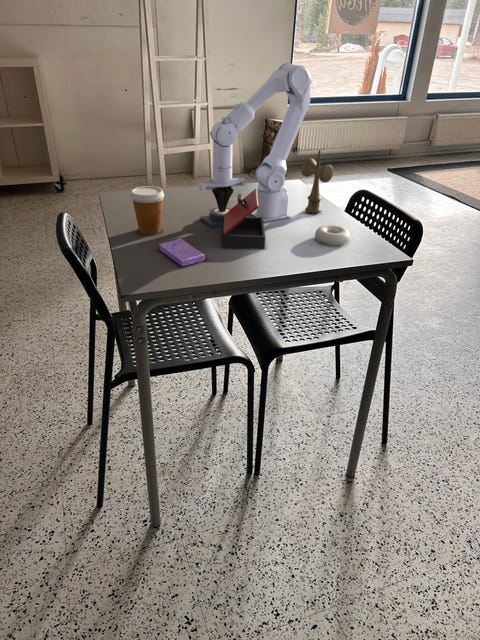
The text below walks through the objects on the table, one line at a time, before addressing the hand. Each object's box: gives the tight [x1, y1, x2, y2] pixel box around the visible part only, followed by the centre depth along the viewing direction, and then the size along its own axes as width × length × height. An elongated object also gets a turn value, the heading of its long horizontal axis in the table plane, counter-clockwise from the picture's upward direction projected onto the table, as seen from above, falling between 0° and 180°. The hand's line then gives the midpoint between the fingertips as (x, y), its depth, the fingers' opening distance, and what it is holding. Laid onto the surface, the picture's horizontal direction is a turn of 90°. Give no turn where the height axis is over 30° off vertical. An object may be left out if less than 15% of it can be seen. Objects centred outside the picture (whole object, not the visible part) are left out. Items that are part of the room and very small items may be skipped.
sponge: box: [158, 238, 206, 267], centre depth 131 cm, size 7×13×2 cm, turn 35°
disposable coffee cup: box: [130, 185, 165, 236], centre depth 143 cm, size 10×10×12 cm
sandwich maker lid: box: [223, 188, 259, 236], centre depth 138 cm, size 12×15×4 cm
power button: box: [214, 209, 229, 215], centre depth 153 cm, size 5×5×2 cm
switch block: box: [200, 207, 232, 228], centre depth 154 cm, size 11×8×3 cm
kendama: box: [300, 149, 334, 214], centre depth 159 cm, size 6×10×20 cm, turn 35°
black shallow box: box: [223, 216, 266, 250], centre depth 142 cm, size 11×15×4 cm
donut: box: [314, 224, 351, 246], centre depth 143 cm, size 10×4×10 cm
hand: (222, 210), depth 153 cm, fingers closed, pressing on power button
